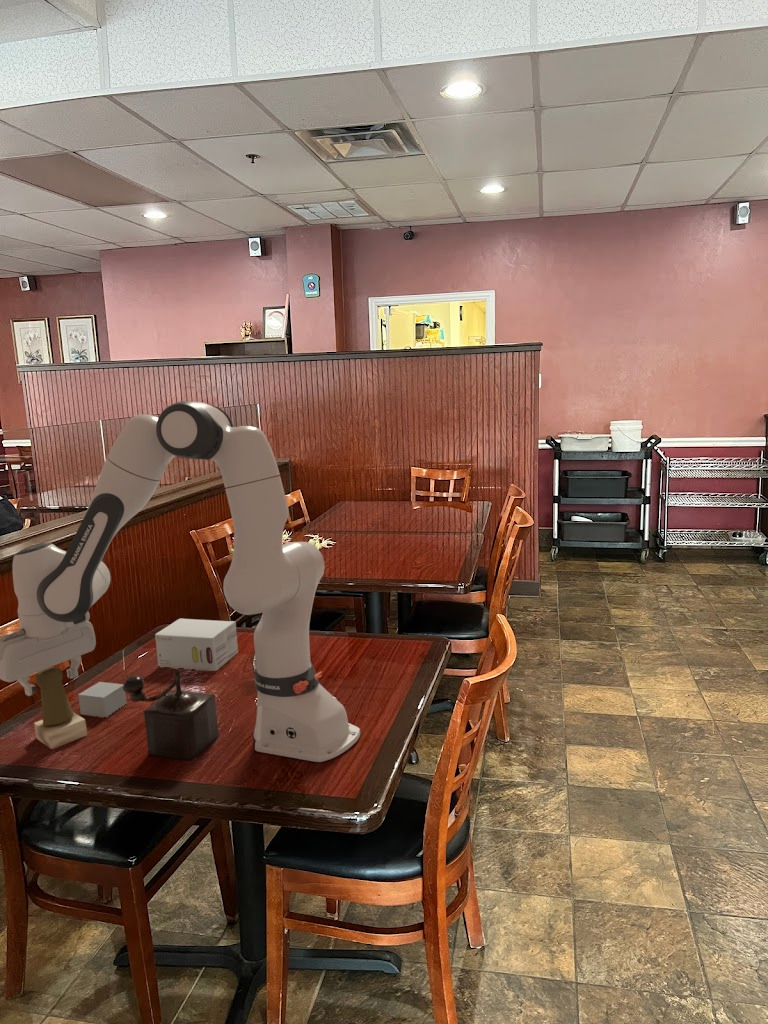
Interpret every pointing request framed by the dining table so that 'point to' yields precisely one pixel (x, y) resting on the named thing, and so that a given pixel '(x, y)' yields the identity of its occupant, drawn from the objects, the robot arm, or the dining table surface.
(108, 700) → the grey block
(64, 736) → the maple block
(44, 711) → the cork
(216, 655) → the supplement box
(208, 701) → the pepper mill
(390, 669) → the dining table surface
